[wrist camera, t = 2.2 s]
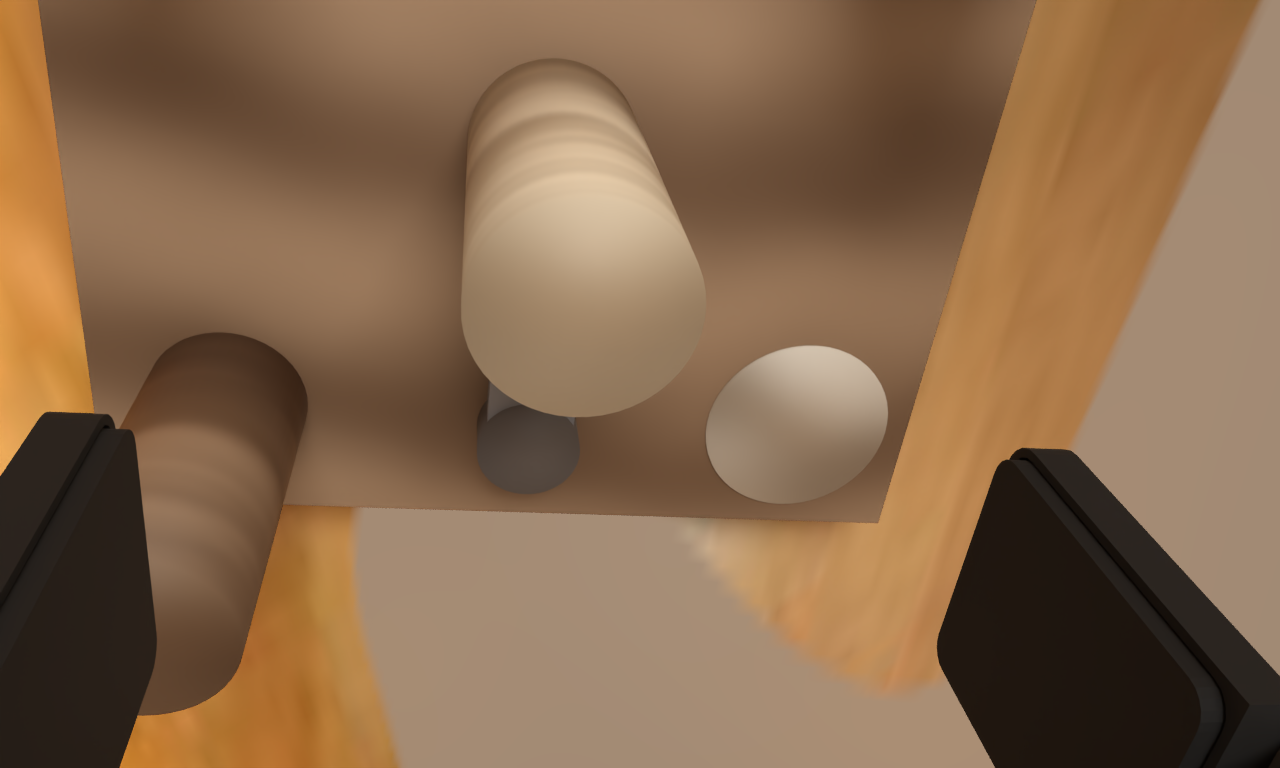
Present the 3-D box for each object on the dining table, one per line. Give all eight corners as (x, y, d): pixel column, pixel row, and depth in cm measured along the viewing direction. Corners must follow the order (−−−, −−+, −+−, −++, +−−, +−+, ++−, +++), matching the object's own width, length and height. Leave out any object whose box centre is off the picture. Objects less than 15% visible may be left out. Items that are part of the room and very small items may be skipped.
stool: (22, -525, 18) (-422, -804, 9) (1074, -327, 22) (1487, -390, 13) (134, 442, 28) (-30, 763, 19) (851, 471, 32) (997, 753, 23)
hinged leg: (594, 468, 27) (633, 712, 20) (449, 462, 26) (438, 711, 19) (649, 67, 22) (725, 207, 15) (473, 49, 21) (467, 185, 14)
